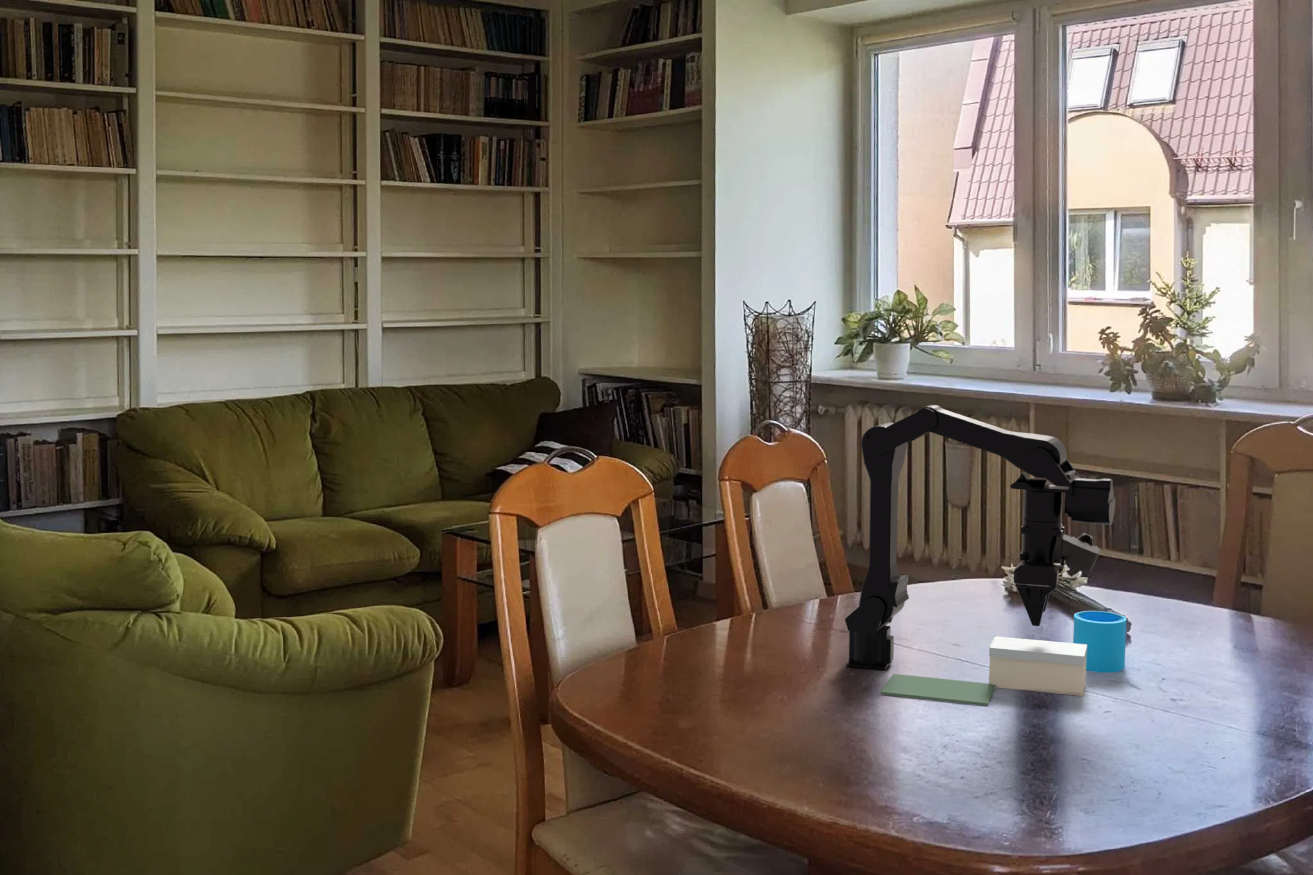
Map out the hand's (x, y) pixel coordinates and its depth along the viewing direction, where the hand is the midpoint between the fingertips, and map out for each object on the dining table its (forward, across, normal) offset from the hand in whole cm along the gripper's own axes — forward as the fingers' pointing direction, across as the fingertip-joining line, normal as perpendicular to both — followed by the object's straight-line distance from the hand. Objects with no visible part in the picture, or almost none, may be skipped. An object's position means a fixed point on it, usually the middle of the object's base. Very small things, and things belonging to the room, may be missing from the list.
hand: (1038, 618), depth 207 cm
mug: (+11, +17, -9) cm, 22 cm away
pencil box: (+11, 0, 0) cm, 11 cm away
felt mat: (+11, -8, +14) cm, 19 cm away
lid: (+6, 0, 0) cm, 6 cm away
